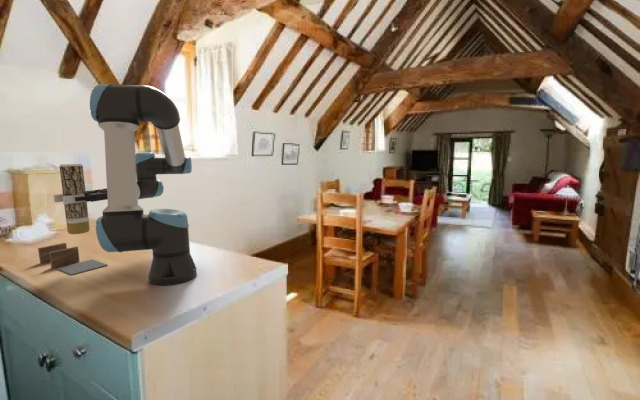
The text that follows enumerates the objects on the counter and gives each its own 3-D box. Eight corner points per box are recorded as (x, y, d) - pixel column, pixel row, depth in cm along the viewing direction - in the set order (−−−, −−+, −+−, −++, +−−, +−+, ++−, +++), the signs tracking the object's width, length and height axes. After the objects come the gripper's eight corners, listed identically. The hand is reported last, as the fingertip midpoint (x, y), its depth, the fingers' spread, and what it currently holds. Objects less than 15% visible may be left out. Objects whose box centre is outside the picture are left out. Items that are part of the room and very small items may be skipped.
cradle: (79, 261, 137) (77, 246, 137) (52, 268, 130) (50, 252, 129) (66, 256, 144) (64, 242, 143) (40, 263, 136) (38, 248, 135)
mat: (107, 265, 133) (107, 264, 133) (71, 275, 123) (71, 274, 123) (92, 260, 139) (91, 259, 139) (56, 269, 129) (56, 268, 129)
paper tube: (78, 235, 125) (70, 165, 121) (62, 234, 127) (54, 164, 123) (94, 230, 132) (87, 164, 128) (79, 229, 133) (71, 163, 129)
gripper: (139, 203, 137) (72, 212, 118) (112, 199, 148) (48, 207, 129) (137, 184, 136) (70, 190, 117) (111, 181, 147) (45, 187, 128)
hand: (58, 199), depth 123 cm, fingers closed on paper tube, 7 cm apart
